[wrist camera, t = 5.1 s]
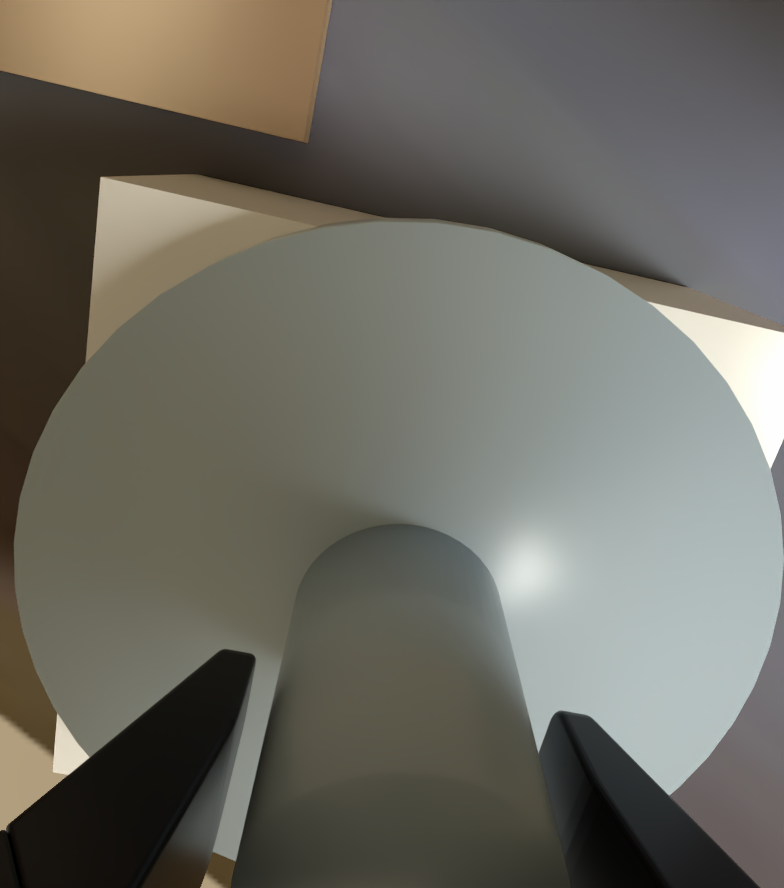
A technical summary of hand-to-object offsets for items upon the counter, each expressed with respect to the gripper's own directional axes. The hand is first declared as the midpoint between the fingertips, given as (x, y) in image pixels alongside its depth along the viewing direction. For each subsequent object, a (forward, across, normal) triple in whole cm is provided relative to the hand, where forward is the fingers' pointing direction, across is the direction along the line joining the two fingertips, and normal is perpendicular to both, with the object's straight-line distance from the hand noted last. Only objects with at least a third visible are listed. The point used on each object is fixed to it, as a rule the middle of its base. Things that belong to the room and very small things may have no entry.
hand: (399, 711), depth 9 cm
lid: (+3, 0, 0) cm, 3 cm away
